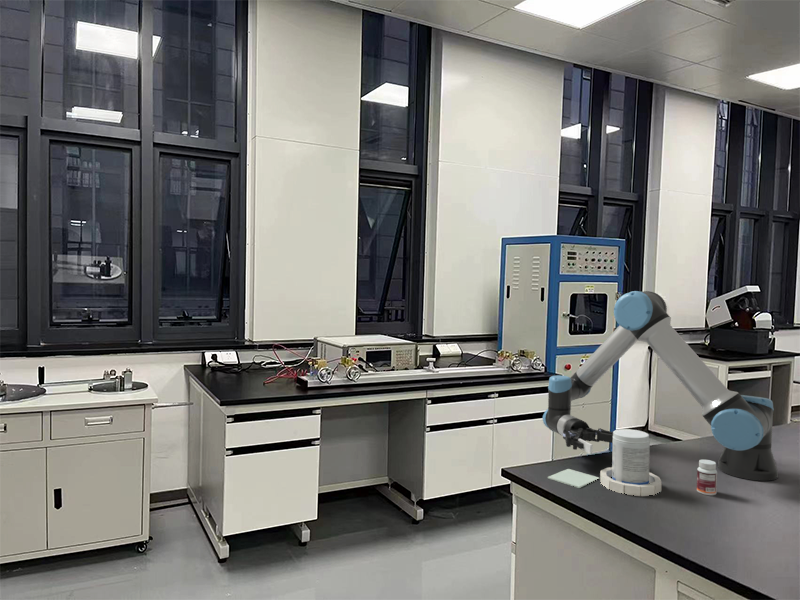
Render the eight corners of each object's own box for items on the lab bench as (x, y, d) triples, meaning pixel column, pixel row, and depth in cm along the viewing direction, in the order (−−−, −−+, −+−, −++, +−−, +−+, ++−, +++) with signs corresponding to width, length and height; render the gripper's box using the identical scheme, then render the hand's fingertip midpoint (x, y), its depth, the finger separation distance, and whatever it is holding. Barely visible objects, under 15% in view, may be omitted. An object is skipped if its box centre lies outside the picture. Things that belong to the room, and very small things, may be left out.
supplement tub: (656, 487, 155) (657, 434, 155) (635, 494, 150) (636, 439, 149) (624, 477, 163) (626, 426, 163) (604, 483, 158) (605, 431, 158)
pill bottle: (699, 487, 156) (700, 457, 155) (718, 492, 152) (720, 461, 152) (693, 492, 152) (694, 461, 152) (713, 497, 149) (714, 465, 149)
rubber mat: (599, 479, 161) (599, 477, 161) (579, 488, 154) (579, 486, 154) (568, 470, 169) (568, 468, 169) (547, 478, 161) (547, 476, 161)
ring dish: (670, 486, 156) (670, 477, 156) (645, 500, 146) (645, 491, 146) (616, 471, 168) (616, 463, 168) (589, 484, 157) (590, 475, 157)
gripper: (607, 438, 188) (649, 458, 167) (538, 442, 182) (573, 463, 162) (607, 416, 188) (649, 433, 167) (539, 419, 182) (573, 437, 161)
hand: (612, 448), depth 164 cm, fingers open, 13 cm apart
